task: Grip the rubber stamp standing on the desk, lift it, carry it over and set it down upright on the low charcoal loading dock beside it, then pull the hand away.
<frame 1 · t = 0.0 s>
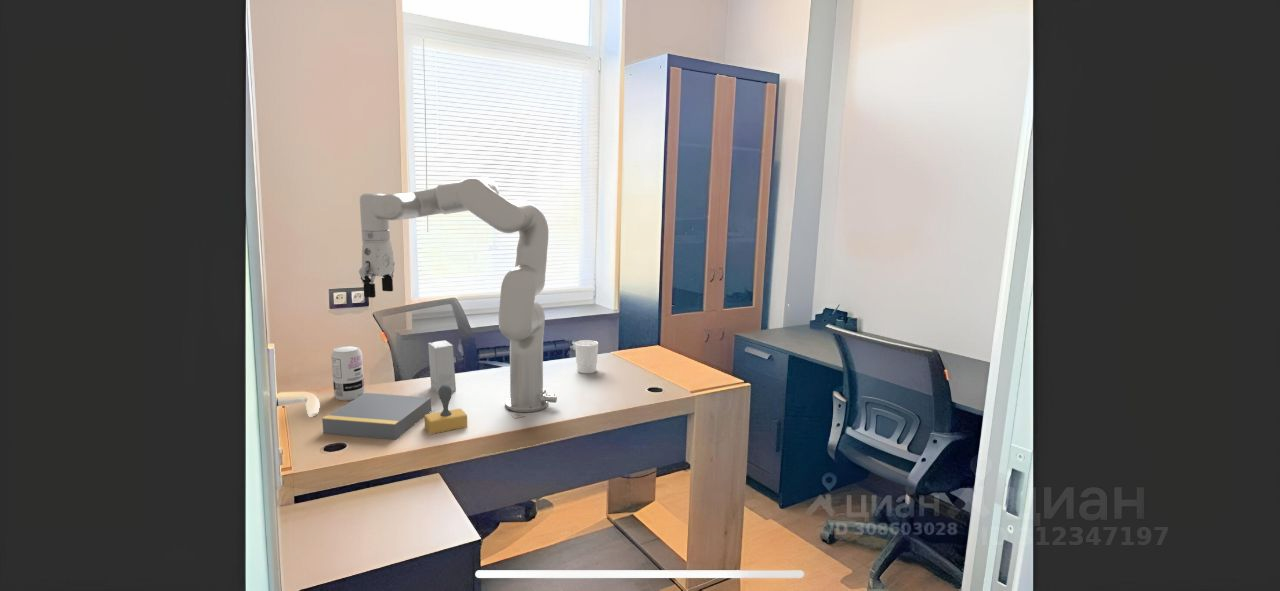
hand: (379, 294, 188), 31 cm above the table, tool pointing down, fingers open, 9 cm apart
skincare box: (442, 389, 200), on the table
rubber stamp: (446, 428, 170), on the table
white cup: (586, 371, 222), on the table
supplement can: (349, 397, 191), on the table
dock: (380, 421, 173), on the table
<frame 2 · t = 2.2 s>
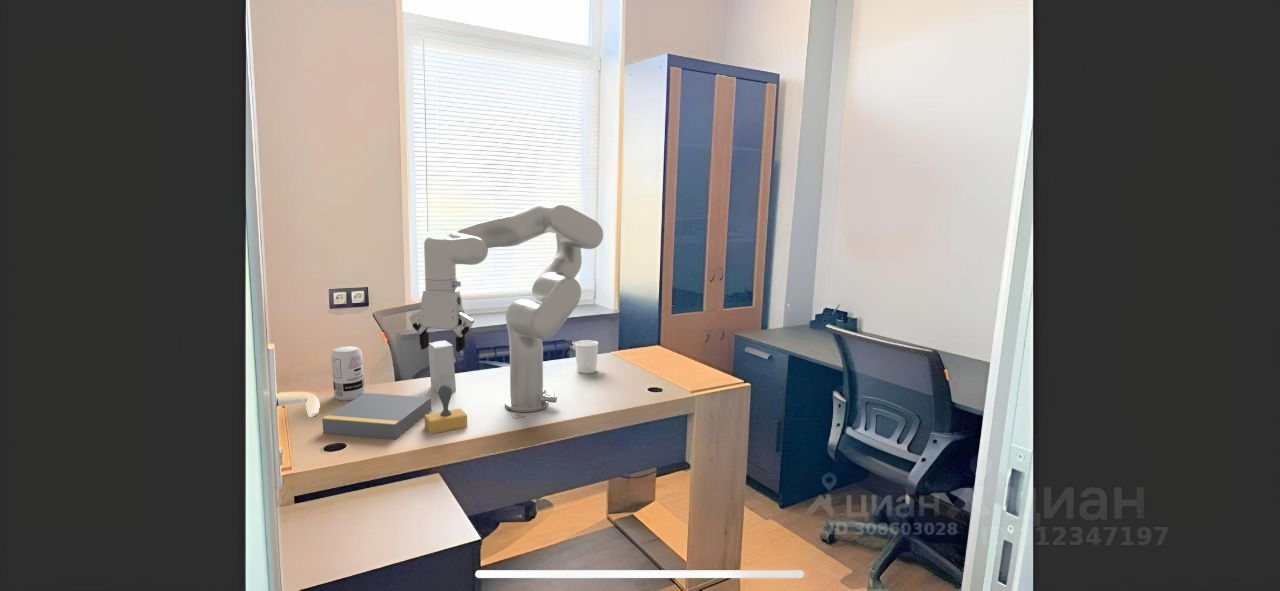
hand: (442, 349, 166), 22 cm above the table, tool pointing down, fingers open, 9 cm apart
nothing on the table moved.
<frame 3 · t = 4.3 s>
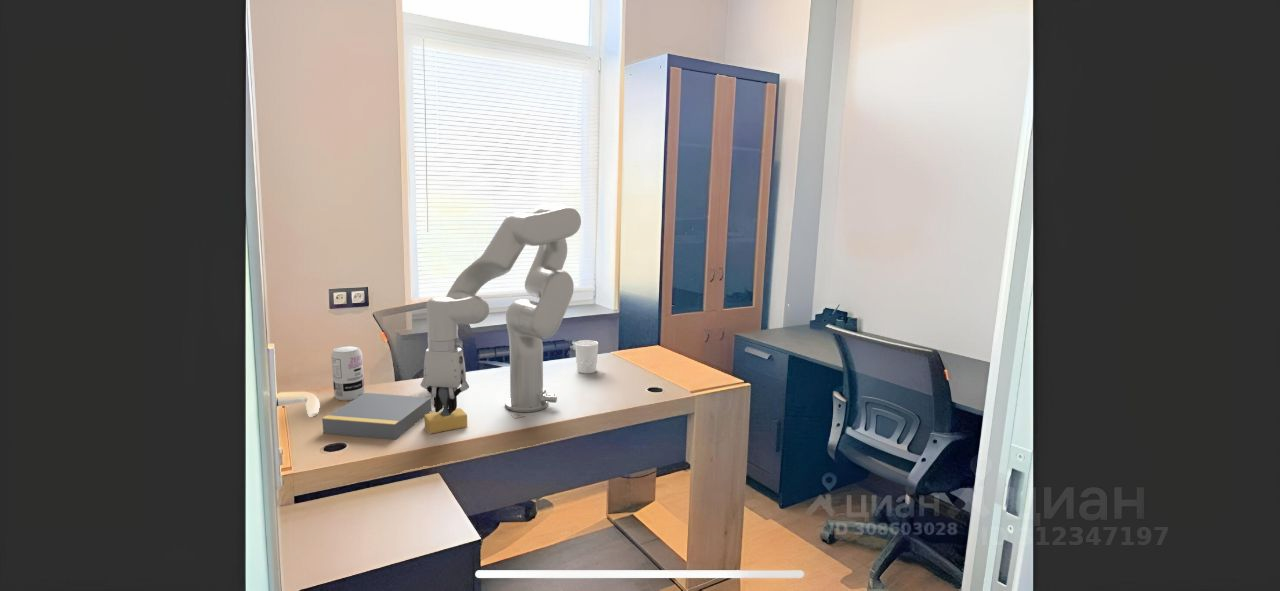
hand: (445, 410, 169), 5 cm above the table, tool pointing down, fingers closed on rubber stamp, 3 cm apart
rubber stamp: (446, 427, 170), on the table, touching gripper
everything else where it was.
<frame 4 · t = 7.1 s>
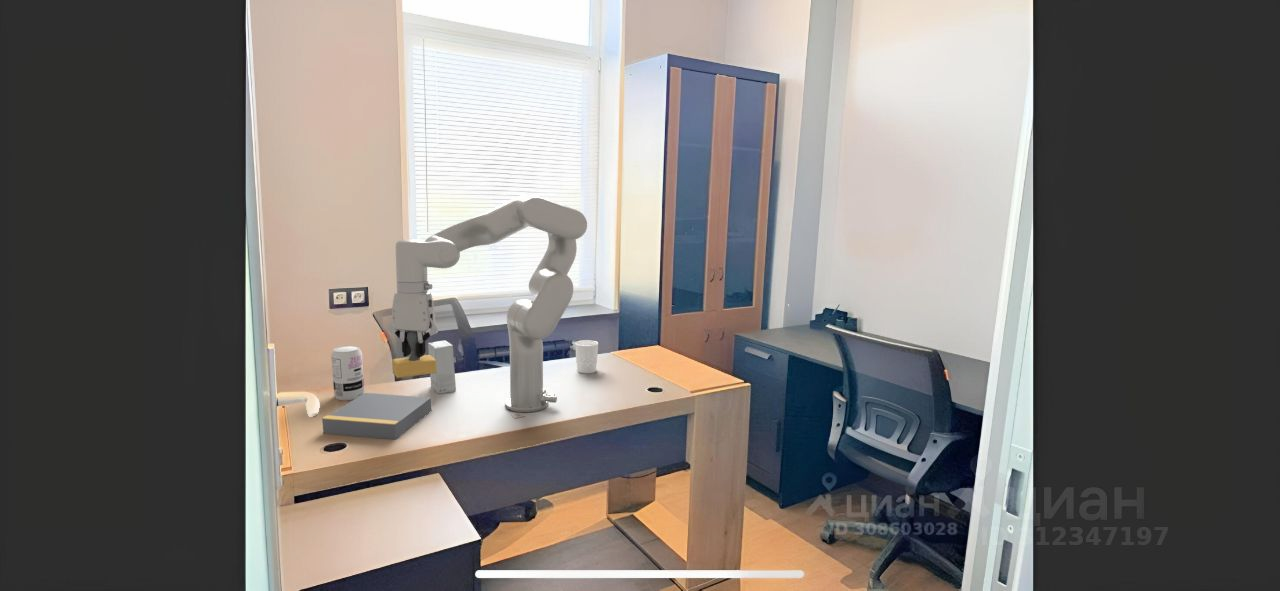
hand: (413, 355, 167), 20 cm above the table, tool pointing down, fingers closed on rubber stamp, 3 cm apart
rubber stamp: (414, 373, 168), point 15 cm above the table, touching gripper
everything else where it was.
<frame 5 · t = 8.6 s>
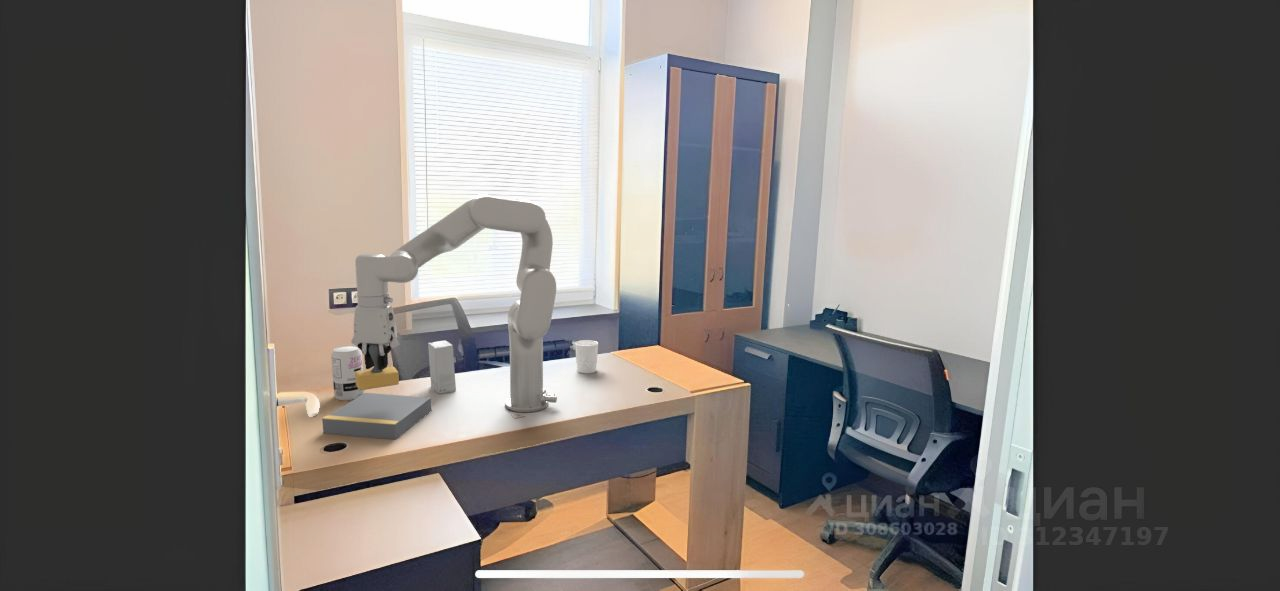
hand: (376, 367, 170), 15 cm above the table, tool pointing down, fingers closed on rubber stamp, 3 cm apart
rubber stamp: (377, 385, 171), point 10 cm above the table, touching gripper
everything else where it was.
when the fingers open (10 cm above the table, at t = 9.8 s): rubber stamp stays where it is, resting on dock.
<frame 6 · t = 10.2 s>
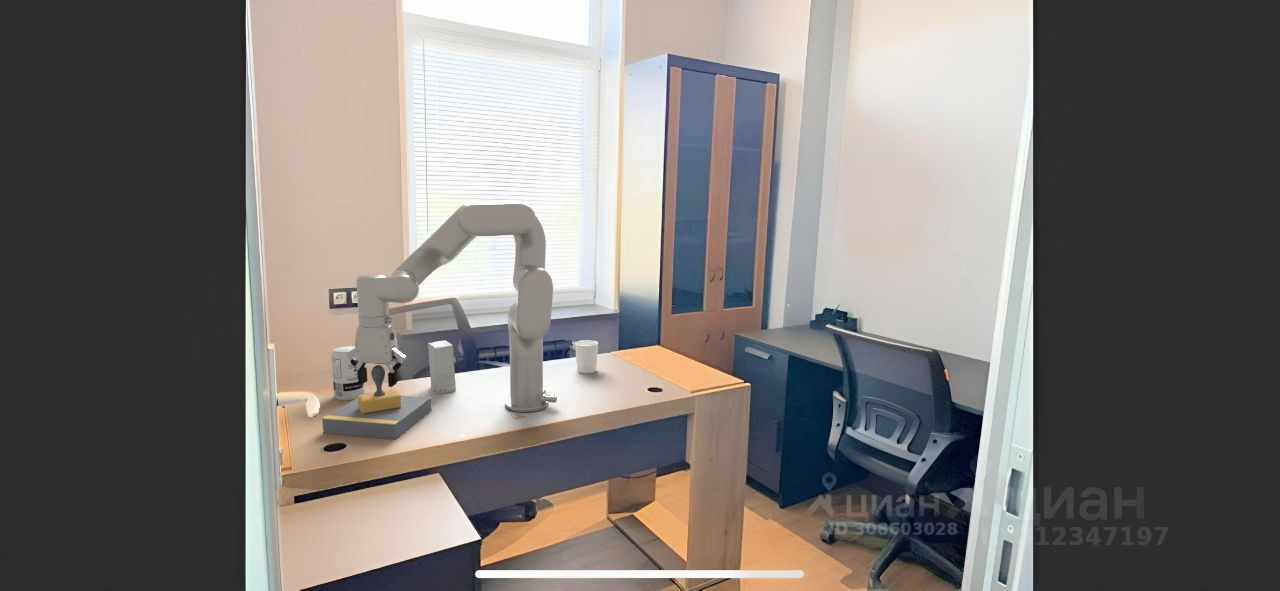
hand: (377, 384, 171), 11 cm above the table, tool pointing down, fingers open, 8 cm apart
rubber stamp: (380, 408, 172), point 4 cm above the table, touching dock
everything else where it was.
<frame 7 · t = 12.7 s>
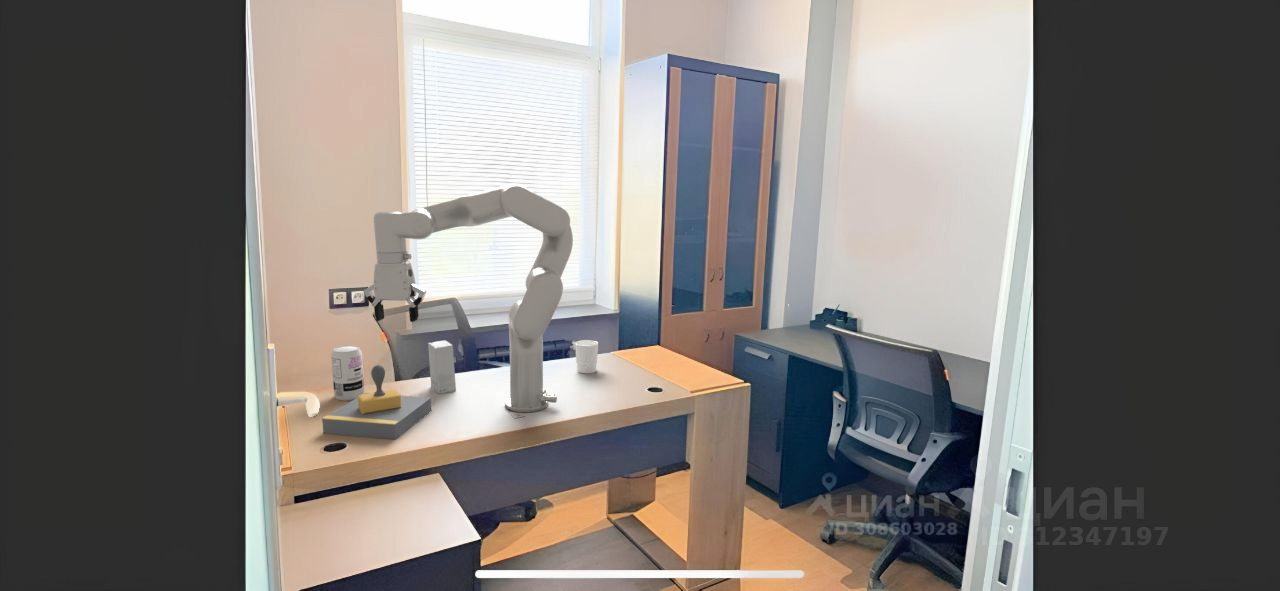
hand: (397, 320, 173), 27 cm above the table, tool pointing down, fingers open, 9 cm apart
nothing on the table moved.
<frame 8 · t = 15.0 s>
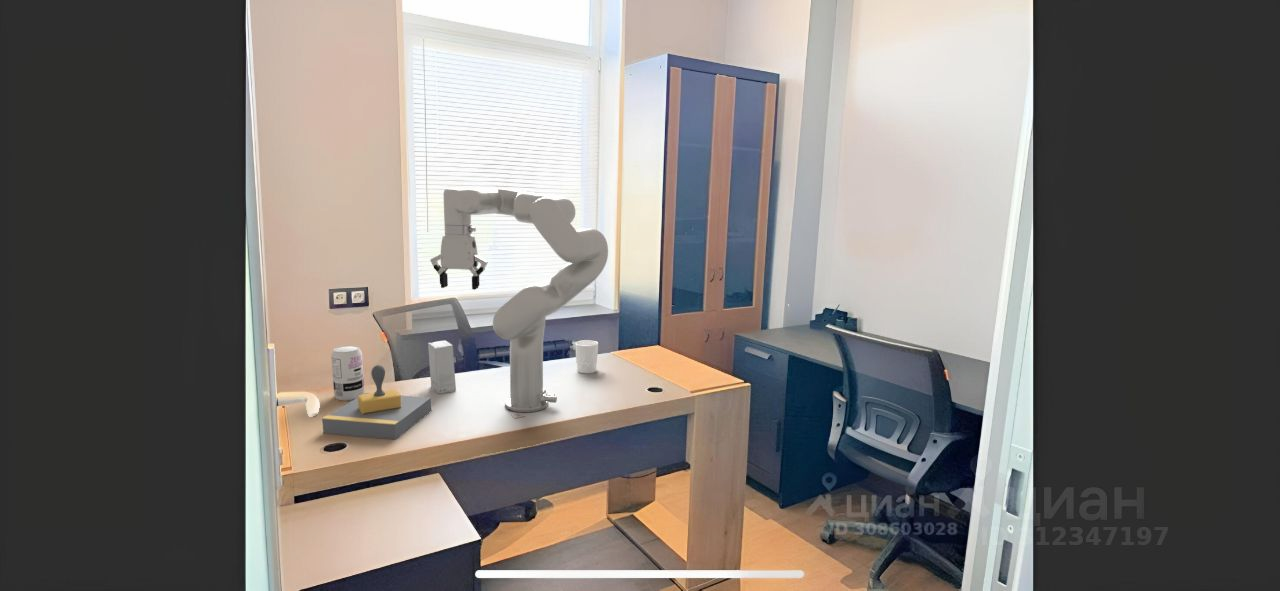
hand: (459, 287, 189), 33 cm above the table, tool pointing down, fingers open, 9 cm apart
nothing on the table moved.
at the end: rubber stamp inside the target area on the dock (0.2 cm from its centre), point 3.8 cm above the dock's base; rubber stamp tilted 0°; the gripper is holding nothing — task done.
